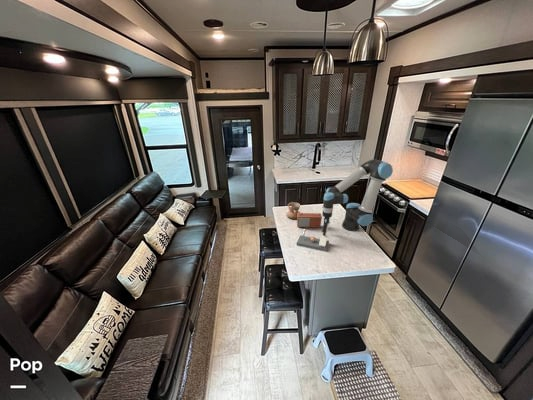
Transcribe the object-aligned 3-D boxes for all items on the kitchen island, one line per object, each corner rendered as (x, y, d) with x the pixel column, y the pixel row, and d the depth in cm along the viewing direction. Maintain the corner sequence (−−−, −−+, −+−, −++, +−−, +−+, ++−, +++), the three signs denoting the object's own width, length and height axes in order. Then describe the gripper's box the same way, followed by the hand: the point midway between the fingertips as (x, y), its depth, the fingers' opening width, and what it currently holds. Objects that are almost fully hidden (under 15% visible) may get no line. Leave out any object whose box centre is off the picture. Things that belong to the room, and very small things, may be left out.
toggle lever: (304, 238, 179) (306, 229, 179) (304, 238, 177) (305, 229, 177) (302, 238, 180) (303, 228, 180) (301, 238, 178) (303, 228, 178)
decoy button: (315, 239, 176) (316, 237, 176) (315, 241, 173) (315, 239, 172) (311, 238, 178) (311, 236, 177) (310, 240, 174) (310, 238, 174)
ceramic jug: (285, 213, 230) (286, 201, 225) (299, 213, 230) (300, 201, 224) (287, 221, 214) (287, 208, 208) (301, 221, 213) (302, 208, 208)
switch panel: (328, 243, 178) (329, 239, 176) (326, 251, 168) (327, 247, 166) (300, 237, 186) (300, 233, 185) (296, 245, 176) (296, 240, 175)
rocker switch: (327, 236, 175) (327, 235, 175) (325, 247, 168) (325, 246, 167) (321, 235, 177) (321, 234, 176) (318, 245, 169) (318, 244, 169)
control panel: (319, 224, 206) (321, 211, 198) (320, 229, 200) (322, 216, 192) (296, 223, 208) (297, 211, 200) (297, 228, 202) (297, 216, 194)
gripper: (325, 204, 186) (323, 226, 194) (320, 217, 165) (318, 241, 173) (334, 206, 183) (331, 227, 191) (330, 218, 162) (327, 242, 170)
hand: (325, 234), depth 182 cm, fingers open, 13 cm apart
